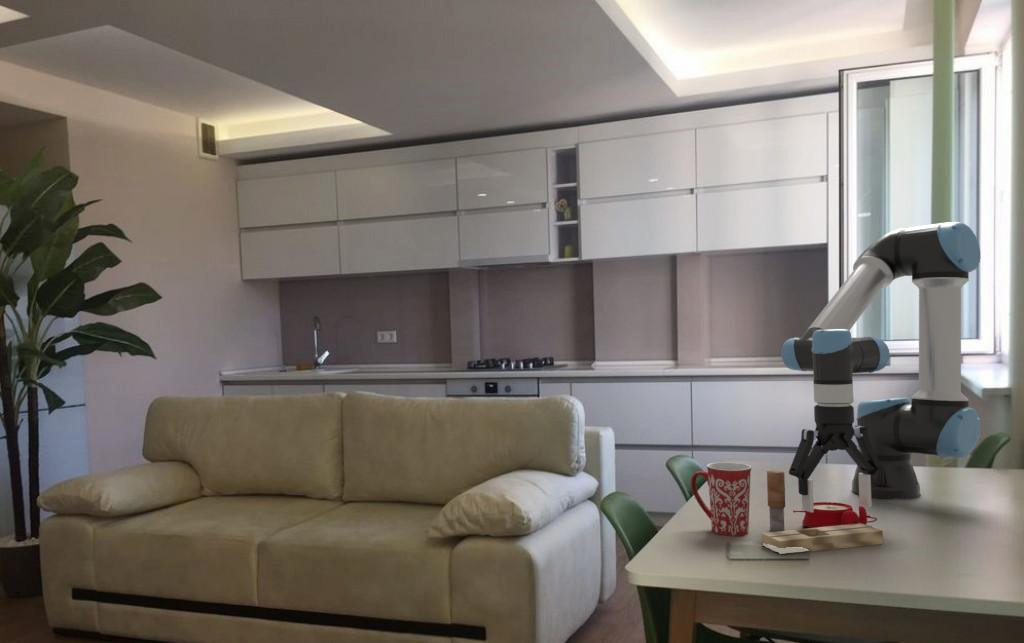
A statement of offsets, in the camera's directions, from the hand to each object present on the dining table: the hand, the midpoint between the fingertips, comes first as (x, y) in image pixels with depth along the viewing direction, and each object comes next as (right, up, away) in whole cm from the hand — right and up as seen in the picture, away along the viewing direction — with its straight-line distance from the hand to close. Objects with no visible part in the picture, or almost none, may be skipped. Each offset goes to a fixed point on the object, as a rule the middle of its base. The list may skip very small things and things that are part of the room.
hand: (837, 508), depth 158 cm
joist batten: (-7, -4, -11) cm, 14 cm away
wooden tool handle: (-12, -5, 0) cm, 13 cm away
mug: (-23, -5, +2) cm, 24 cm away
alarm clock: (0, -4, 0) cm, 4 cm away
